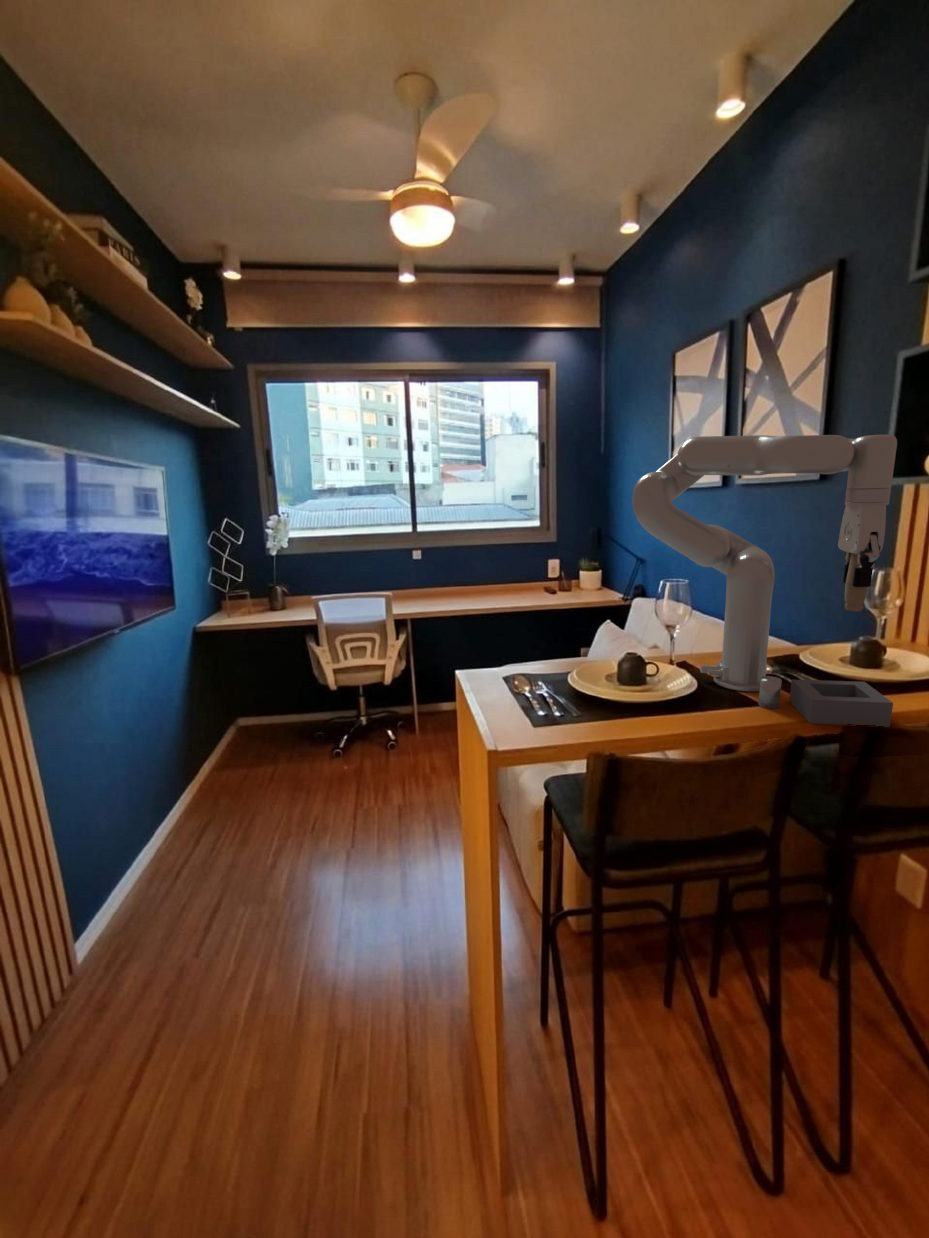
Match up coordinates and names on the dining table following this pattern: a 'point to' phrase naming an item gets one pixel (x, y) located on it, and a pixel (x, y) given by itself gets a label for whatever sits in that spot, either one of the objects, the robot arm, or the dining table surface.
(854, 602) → the handle
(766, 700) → the short peg
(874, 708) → the block
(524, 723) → the dining table surface
